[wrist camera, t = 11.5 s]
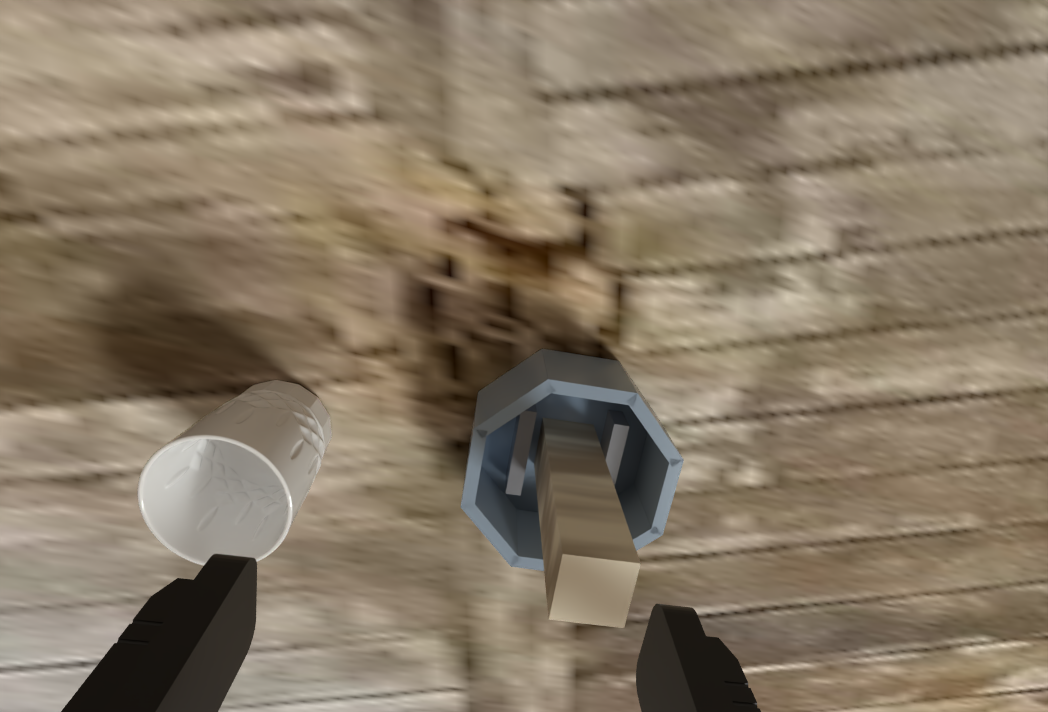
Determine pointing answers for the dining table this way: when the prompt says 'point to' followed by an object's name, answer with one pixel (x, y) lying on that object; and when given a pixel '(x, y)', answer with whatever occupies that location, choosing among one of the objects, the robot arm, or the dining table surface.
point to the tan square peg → (582, 528)
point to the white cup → (236, 474)
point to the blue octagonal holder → (512, 437)
